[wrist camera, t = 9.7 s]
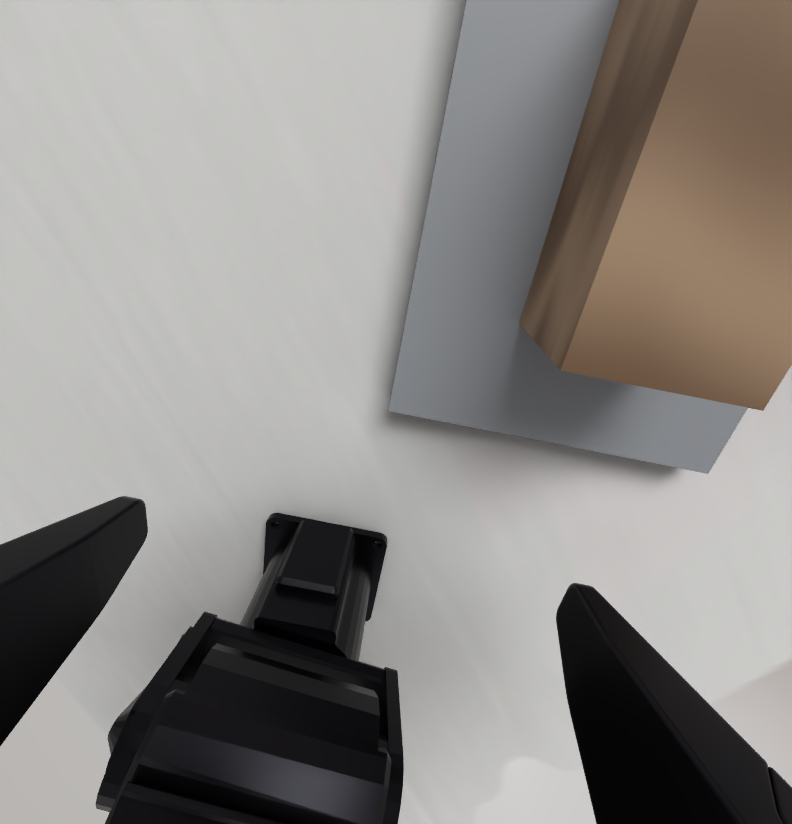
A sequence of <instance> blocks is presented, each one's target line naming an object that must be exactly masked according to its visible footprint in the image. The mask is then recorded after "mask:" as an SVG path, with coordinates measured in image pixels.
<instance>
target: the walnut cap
mask: <svg viewBox="0 0 792 824" xmlns="http://www.w3.org/2000/svg"><path fill="white" fill-rule="evenodd" d="M519 324H520V325H521V326H522V327H523V328H524V330H525V331H526V332H527V333H528V334H529V335H530V336H531V338H532V339H533V340H534V341H535V342H536V343H537V344H538V346H539V347H540V348H541V349H542V350H543V351H544V352H545V353H546V355H547V356H548V357H549V358H550V359H551V360H552V361H553V363H554V364H555V365H556V366H557V367H558V368H559V369H560V371H565V372H570V373H575V374H580V375H585V376H590V377H595V378H601V379H606V380H611V381H616V382H621V383H626V384H631V385H636V386H641V387H646V388H651V389H656V390H661V391H666V392H671V393H676V394H682V395H687V396H692V397H697V398H702V399H707V400H712V401H717V402H722V403H727V404H732V405H737V406H742V407H747V408H752V409H757V410H762V411H763V410H764V408H765V407H766V405H767V403H768V402H769V400H770V399H771V397H772V395H773V394H774V392H775V391H776V389H777V387H778V386H779V384H780V382H781V381H782V379H783V378H784V376H785V374H786V373H787V371H788V370H789V368H790V366H791V365H792V0H619V3H618V6H617V9H616V13H615V16H614V19H613V22H612V26H611V29H610V32H609V35H608V38H607V42H606V45H605V48H604V51H603V55H602V58H601V61H600V64H599V68H598V71H597V74H596V77H595V80H594V84H593V87H592V90H591V93H590V97H589V100H588V103H587V106H586V109H585V113H584V116H583V119H582V122H581V126H580V129H579V132H578V135H577V139H576V142H575V145H574V148H573V151H572V155H571V158H570V161H569V164H568V168H567V171H566V174H565V177H564V180H563V184H562V187H561V190H560V193H559V197H558V200H557V203H556V206H555V209H554V213H553V216H552V219H551V222H550V226H549V229H548V232H547V235H546V239H545V242H544V245H543V248H542V251H541V255H540V258H539V261H538V264H537V268H536V271H535V274H534V277H533V280H532V284H531V287H530V290H529V293H528V297H527V300H526V303H525V306H524V310H523V313H522V316H521V319H520V322H519Z"/></svg>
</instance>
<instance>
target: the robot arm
mask: <svg viewBox="0 0 792 824" xmlns="http://www.w3.org/2000/svg"><path fill="white" fill-rule="evenodd" d="M275 522H278V523H279V524H276V523H275ZM147 532H148V527H147V517H146V507H145V503H144V501H143V500H141V499H137V498H132V497H127V496H122V497H118V498H116V499H113V500H111V501H108V502H106V503H103V504H101V505H98V506H96V507H93V508H91V509H88V510H86V511H83V512H81V513H78V514H76V515H73V516H71V517H68V518H66V519H63V520H61V521H58V522H56V523H53V524H51V525H48V526H46V527H43V528H41V529H38V530H36V531H33V532H31V533H28V534H26V535H23V536H21V537H18V538H16V539H13V540H11V541H8V542H6V543H3V544H1V545H0V746H1V745H2V743H3V742H4V741H5V739H6V738H7V737H8V735H9V734H10V732H11V731H12V730H13V728H14V727H15V726H16V725H17V723H18V722H19V721H20V719H21V718H22V717H23V715H24V714H25V713H26V711H27V710H28V709H29V707H30V706H31V705H32V703H33V702H34V701H35V699H36V698H37V697H38V695H39V694H40V693H41V691H42V690H43V689H44V687H45V686H46V685H47V683H48V682H49V681H50V679H51V678H52V677H53V675H54V674H55V673H56V671H57V670H58V669H59V667H60V666H61V665H62V663H63V662H64V661H65V659H66V658H67V657H68V655H69V654H70V653H71V651H72V650H73V649H74V647H75V646H76V645H77V643H78V642H79V641H80V639H81V638H82V637H83V635H84V634H85V633H86V631H87V630H88V629H89V628H90V626H91V625H92V624H93V622H94V621H95V619H96V618H97V617H98V615H99V614H100V612H101V611H102V610H103V608H104V607H105V605H106V603H107V602H108V600H109V599H110V597H111V596H112V594H113V592H114V591H115V589H116V587H117V586H118V584H119V583H120V581H121V579H122V578H123V576H124V574H125V573H126V571H127V569H128V568H129V566H130V565H131V563H132V561H133V560H134V558H135V556H136V555H137V553H138V551H139V550H140V548H141V547H142V545H143V543H144V541H145V539H146V537H147ZM375 541H379V542H381V543H375ZM386 547H387V537H386V536H385V535H384V534H382V533H379V532H373V531H368V530H363V529H358V528H353V527H348V526H342V525H337V524H332V523H327V522H322V521H317V520H311V519H306V518H301V517H296V516H291V515H286V514H280V513H273V514H271V515H270V516H269V518H268V520H267V523H266V536H265V553H264V570H263V577H262V579H261V581H260V584H259V586H258V588H257V590H256V592H255V594H254V596H253V598H252V601H251V603H250V605H249V607H248V609H247V611H246V613H245V615H244V618H243V620H242V622H241V624H240V625H239V624H235V623H232V622H229V621H226V620H222V619H219V618H217V615H214V614H211V613H208V612H204V613H203V614H202V616H201V617H200V619H199V620H198V621H197V623H196V624H195V626H194V627H190V628H189V629H188V630H187V632H186V633H185V634H184V635H182V637H181V639H180V640H179V642H178V644H177V645H176V647H175V648H174V650H173V651H172V652H171V654H170V655H169V656H168V658H167V659H166V661H165V662H164V663H163V665H162V666H161V668H160V669H159V670H158V672H157V673H156V674H155V676H154V677H153V679H152V680H151V681H150V683H149V684H148V685H147V687H146V688H145V689H144V690H143V691H142V692H141V693H140V694H139V695H138V696H137V697H136V698H135V700H134V701H133V702H132V703H131V704H130V705H129V706H128V707H127V708H126V709H125V710H124V711H123V712H122V713H121V714H120V715H119V717H118V718H117V719H116V721H115V722H114V724H113V726H112V728H111V730H110V732H109V734H108V742H109V747H110V752H111V757H110V759H109V762H108V765H107V768H106V773H105V775H104V778H103V780H102V783H101V787H100V789H99V792H98V796H97V801H96V808H97V809H101V810H104V811H108V812H110V813H109V816H108V818H107V820H106V823H105V824H398V818H399V812H400V805H401V797H402V788H403V770H404V769H403V746H402V731H401V717H400V703H399V688H398V674H397V671H396V670H393V669H390V668H387V667H385V668H384V669H382V668H379V667H376V666H372V665H369V664H366V663H363V662H359V655H360V649H361V643H362V637H363V631H364V624H365V621H368V620H369V619H370V618H371V614H372V610H373V606H374V601H375V597H376V592H377V588H378V583H379V579H380V574H381V570H382V565H383V561H384V556H385V552H386ZM556 622H557V630H558V637H559V644H560V652H561V659H562V666H563V674H564V681H565V688H566V694H567V700H568V704H569V709H570V714H571V718H572V722H573V726H574V731H575V735H576V739H577V743H578V747H579V752H580V756H581V760H582V764H583V768H584V773H585V776H586V781H587V785H588V789H589V794H590V798H591V802H592V806H593V810H594V815H595V819H596V823H597V824H792V787H791V786H790V785H789V784H788V783H787V782H786V781H785V780H784V779H783V778H782V777H781V776H780V775H779V774H778V773H777V772H776V771H775V770H774V769H773V768H771V767H768V765H767V763H766V761H765V760H764V759H763V758H762V757H761V756H760V755H759V754H758V753H757V752H756V751H755V750H754V749H753V748H752V747H751V746H750V745H749V744H748V743H747V742H746V741H745V740H744V739H743V738H742V737H741V736H740V735H739V734H738V733H737V732H736V731H735V730H734V729H733V728H732V727H731V726H730V725H729V724H728V723H727V722H726V721H725V720H724V719H723V718H722V717H721V716H720V715H719V714H718V713H717V712H716V711H715V710H714V709H713V708H712V707H711V706H710V705H709V704H708V703H707V702H706V701H705V700H704V699H703V698H702V697H701V696H700V695H699V693H698V692H697V691H696V690H695V689H694V688H693V687H692V686H691V685H690V684H689V683H688V682H687V681H686V680H685V679H684V678H683V677H682V676H681V675H680V674H679V673H678V672H677V671H676V670H675V669H674V668H673V667H672V666H671V665H670V664H669V663H668V662H667V661H666V660H665V659H664V658H663V657H662V656H661V655H660V654H659V653H658V652H657V651H656V650H655V649H654V648H653V647H652V646H651V645H650V644H649V643H648V642H647V641H646V640H645V639H644V638H643V637H642V636H641V635H640V634H639V633H638V632H637V631H636V630H635V629H634V628H633V627H632V626H631V625H630V624H629V623H628V622H627V621H626V620H625V619H624V618H623V617H622V616H621V615H620V614H619V613H618V612H617V611H616V610H615V609H614V608H613V607H612V606H611V605H610V604H609V603H608V602H607V601H606V600H605V599H604V597H603V596H602V595H601V594H600V593H599V592H598V591H597V590H595V589H594V588H593V587H591V586H588V585H583V584H577V583H573V584H571V585H570V586H569V587H568V589H567V591H566V593H565V595H564V597H563V599H562V601H561V603H560V605H559V607H558V610H557V615H556Z"/></svg>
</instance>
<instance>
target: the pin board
mask: <svg viewBox="0 0 792 824" xmlns="http://www.w3.org/2000/svg"><path fill="white" fill-rule="evenodd" d="M618 3H619V0H466V5H465V10H464V16H463V21H462V26H461V31H460V37H459V42H458V47H457V52H456V58H455V63H454V68H453V73H452V79H451V84H450V89H449V95H448V100H447V105H446V110H445V116H444V121H443V126H442V131H441V137H440V142H439V147H438V152H437V158H436V163H435V168H434V173H433V179H432V184H431V189H430V194H429V200H428V205H427V210H426V215H425V221H424V226H423V231H422V236H421V242H420V247H419V252H418V257H417V263H416V268H415V273H414V278H413V284H412V289H411V294H410V299H409V305H408V310H407V315H406V320H405V326H404V331H403V336H402V341H401V347H400V352H399V357H398V363H397V368H396V373H395V378H394V384H393V389H392V394H391V399H390V405H389V410H388V411H390V412H395V413H400V414H405V415H411V416H416V417H421V418H426V419H431V420H436V421H441V422H446V423H451V424H457V425H462V426H467V427H472V428H477V429H482V430H487V431H492V432H497V433H503V434H508V435H513V436H518V437H523V438H528V439H533V440H538V441H543V442H549V443H554V444H559V445H564V446H569V447H574V448H579V449H584V450H589V451H595V452H600V453H605V454H610V455H615V456H620V457H625V458H630V459H635V460H641V461H646V462H651V463H656V464H661V465H666V466H671V467H676V468H681V469H687V470H692V471H697V472H702V473H707V474H708V473H709V472H710V470H711V468H712V467H713V465H714V463H715V462H716V460H717V458H718V457H719V455H720V453H721V452H722V450H723V448H724V447H725V445H726V443H727V442H728V440H729V438H730V437H731V435H732V433H733V432H734V430H735V428H736V427H737V425H738V423H739V422H740V420H741V418H742V417H743V415H744V413H745V412H746V410H747V407H742V406H737V405H732V404H727V403H722V402H717V401H712V400H707V399H702V398H697V397H692V396H687V395H682V394H676V393H671V392H666V391H661V390H656V389H651V388H646V387H641V386H636V385H631V384H626V383H621V382H616V381H611V380H606V379H601V378H595V377H590V376H585V375H580V374H575V373H570V372H565V371H560V369H559V368H558V367H557V366H556V365H555V364H554V363H553V361H552V360H551V359H550V358H549V357H548V356H547V355H546V353H545V352H544V351H543V350H542V349H541V348H540V347H539V346H538V344H537V343H536V342H535V341H534V340H533V339H532V338H531V336H530V335H529V334H528V333H527V332H526V331H525V330H524V328H523V327H522V326H521V325H520V324H519V322H520V319H521V316H522V313H523V310H524V306H525V303H526V300H527V297H528V293H529V290H530V287H531V284H532V280H533V277H534V274H535V271H536V268H537V264H538V261H539V258H540V255H541V251H542V248H543V245H544V242H545V239H546V235H547V232H548V229H549V226H550V222H551V219H552V216H553V213H554V209H555V206H556V203H557V200H558V197H559V193H560V190H561V187H562V184H563V180H564V177H565V174H566V171H567V168H568V164H569V161H570V158H571V155H572V151H573V148H574V145H575V142H576V139H577V135H578V132H579V129H580V126H581V122H582V119H583V116H584V113H585V109H586V106H587V103H588V100H589V97H590V93H591V90H592V87H593V84H594V80H595V77H596V74H597V71H598V68H599V64H600V61H601V58H602V55H603V51H604V48H605V45H606V42H607V38H608V35H609V32H610V29H611V26H612V22H613V19H614V16H615V13H616V9H617V6H618Z"/></svg>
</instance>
